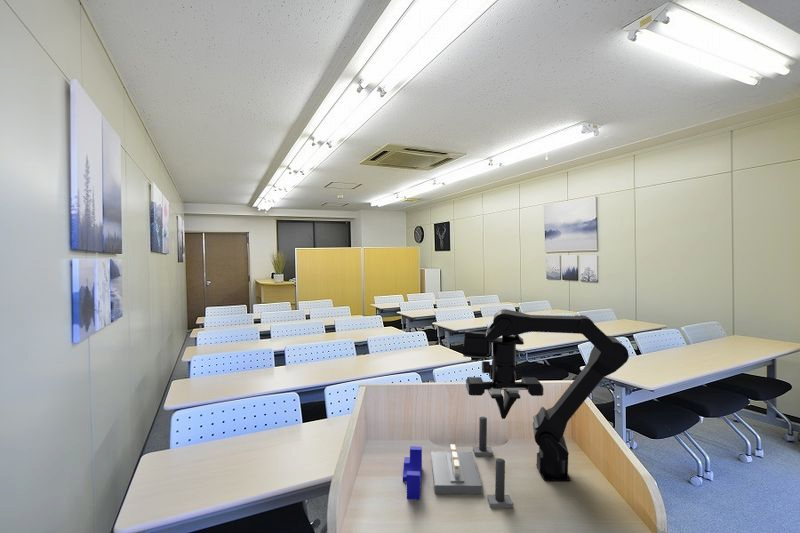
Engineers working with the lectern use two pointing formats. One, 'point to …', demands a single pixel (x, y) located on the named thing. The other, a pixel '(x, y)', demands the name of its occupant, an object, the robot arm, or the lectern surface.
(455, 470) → the breaker paddles
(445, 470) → the breaker panel
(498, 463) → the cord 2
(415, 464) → the cable clip
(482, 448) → the grey post on base
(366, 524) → the lectern surface
